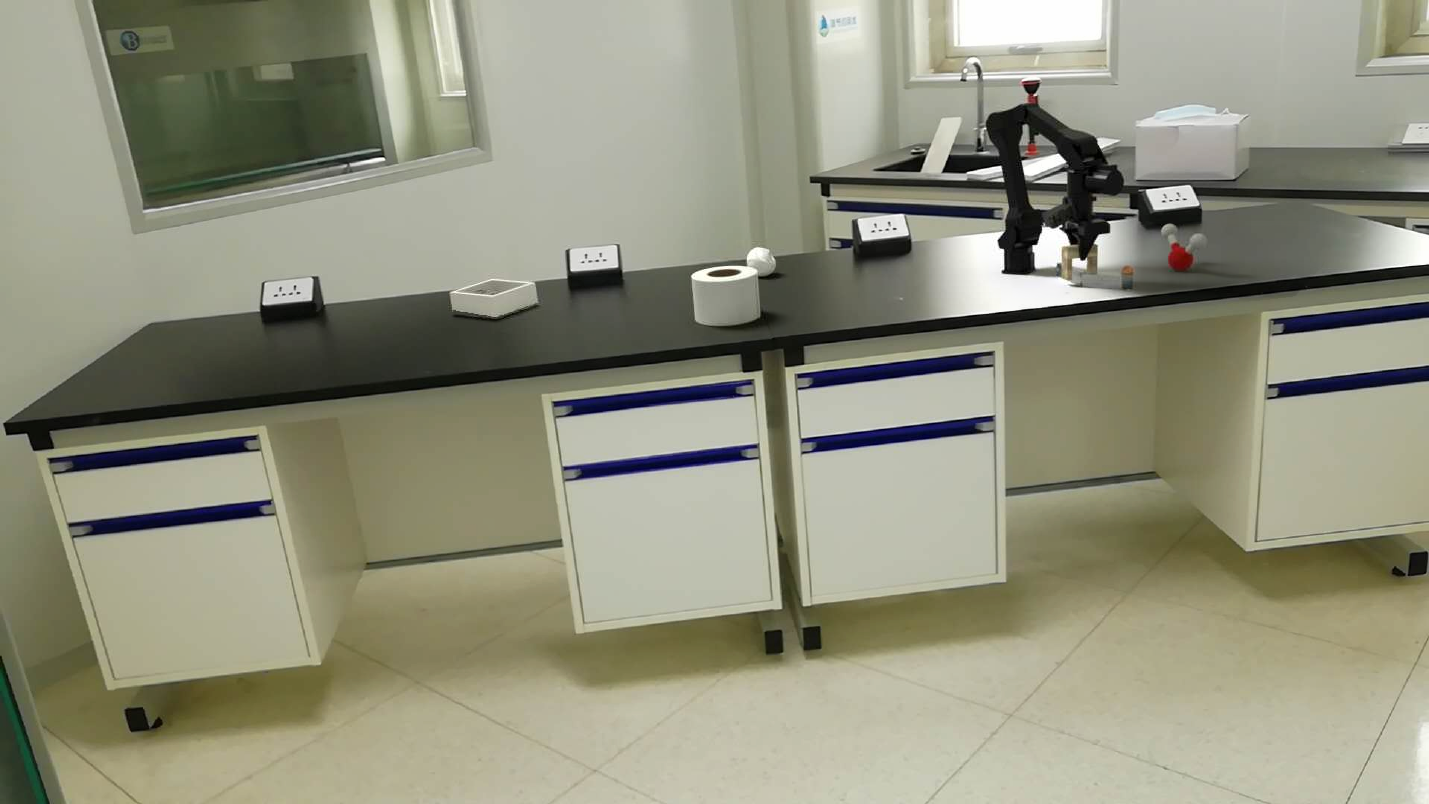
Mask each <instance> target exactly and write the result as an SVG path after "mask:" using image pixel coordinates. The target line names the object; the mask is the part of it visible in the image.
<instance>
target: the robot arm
mask: <svg viewBox="0 0 1429 804" xmlns="http://www.w3.org/2000/svg"><path fill="white" fill-rule="evenodd" d="M1025 125H1027V126H1028V127H1030V128H1031V129H1032V130H1034V131H1035V132H1037V133H1038V134H1039V135H1041V136H1042V137H1043V138H1045V139H1046V140H1047V141H1049V142H1051V143H1052V144H1053V145H1054V146H1055V147H1056V150H1057V154H1058V155H1059V156H1060V157H1061V158H1062V160H1064V161H1065V164H1064V165H1062V166H1061V167H1060V168H1059V171H1060V172H1061V173H1063V172H1064V173H1066V180H1067V181H1066V195H1064V196H1063V198H1062V204H1059V205H1056V206H1054V207H1052V208H1049V209H1048V210H1046V211H1044V212H1043V213H1042V212H1041V209H1039V208H1038V209H1035V208H1034V207H1033V206H1032V204H1031V203H1030V198H1029V193H1028V188H1027V182H1026V177H1025V171H1024V166H1023V160H1022V159H1023V158H1022V155H1021V149H1020V142H1021V140H1022V138H1023V135H1024V127H1023V126H1025ZM985 128H986V132H987V135H988V136H987V137H988V138H989V141H990V142H991V143H992V145H993V146H994V147H995V148H996V149H997V151H998V155H999V156H998V157H999V162H1000V167H1001V170H1002V172H1001V173H1002V177H1003V183H1004V187H1005V193H1006V198H1007V204H1008V211H1007V214H1006V216H1005V219H1004V226H1005V227H1004V228H1005V230H1004V232H1003V233H1001V235H1000V236H999V238H997V246H998V248H999V250H1003V267H1004V268H1003V269H1002V270H1001V273H1002V274H1012V275H1013V274H1015V275H1027V274H1029V273H1031V272H1033V271H1035V270H1036V266H1035V262H1036V261H1035V260H1036V259H1035V258H1036V256H1035V254H1036V253H1035V252H1034V251H1033V250H1034V249H1033V248H1034V247H1033V246H1038V244H1039V240H1040V236H1041V235H1042V233H1043V226H1044V224H1045V227H1047V228H1050V229H1052V230H1054V229H1057V228H1058V229H1059V230H1060V231H1061V232H1063V233H1064V234H1065V235H1066V236H1067V240H1068V242H1069V243H1068V244H1069V246H1070V245H1078V248H1079V256H1080V258H1079V260H1080V262H1084V261H1087V256H1088V254H1089V252H1090V250H1091V248H1092V246H1093V244H1095V243H1096V240H1097V238H1098V237H1099V236H1100V235H1107V234H1111V223H1109V221H1107V220H1104V219H1103V218H1102V219H1101V218H1097V214H1096V213H1094V202H1097V201H1098V199H1097V198H1098V197H1097V196H1096V195H1102V196H1109V197H1115V196H1117V195H1119V194H1120V193H1121V192H1122V190H1123V187H1124V185H1125V178H1124V176H1123V174H1122V172H1121V171H1120V170H1118V164H1115V163H1113V164H1109V162H1108V160H1107V158H1106V156H1105V155H1104V152H1103V150H1102V149H1101V147H1100V145H1099V143H1098V142H1099V141H1098V139H1097V137H1095V136H1094V135H1092V134H1090V133H1088V132H1085V131H1082V130H1077V129H1073V128H1070V127H1069V126H1067V125H1066V124H1065V123H1063V122H1062V121H1060V120H1059V119H1057V118H1056V117H1054V116H1053V115H1051V113H1048V112H1047V111H1046V110H1044V109H1043V108H1041V106H1040V105H1039V104H1038V103H1037V102H1035V101H1032V102H1024V103H1019V104H1018V105H1016V106H1014V107H1012V108H1009V109H1007V110H1000V111H993V112H991V113H990V114H988V117H987V119H986V120H985ZM1042 219H1043V221H1042ZM1060 226H1061V227H1060Z"/></svg>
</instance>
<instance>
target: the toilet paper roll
mask: <svg viewBox="0 0 1429 804" xmlns="http://www.w3.org/2000/svg"><path fill="white" fill-rule="evenodd" d="M690 277H691V288H692V298H693V300H692V301H693V308H694V310H693V311H694V320H695V322H696V323H697V324H699V325H704V326H711V327H729V326H738V325H743V324H747V323H751V322H753V321H755V320H757V319H760V317H761V303H760V290H759V289H760V288H759V287H760V286H759V276H758V272H757V270H756V269H754V268H751V267H748V266H745V265H744V266H743V265H726V266H725V265H724V266H715V267H710V268H705V269H701V270H698V271H696V272H694V273H693V274H691V276H690Z"/></svg>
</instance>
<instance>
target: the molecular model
mask: <svg viewBox="0 0 1429 804" xmlns="http://www.w3.org/2000/svg"><path fill="white" fill-rule="evenodd" d="M1178 230H1179V229H1178V228H1177V226H1176V225H1175V224H1173V223H1167V224H1165V225H1164V226H1162V228H1161V233H1160V234H1161V236H1162V237H1163V239H1166V240H1168V243H1169V245H1170V247H1171V251H1170V252H1169V253H1168V256H1167V262H1168V265H1169V267H1170V268H1171V269H1173V270H1174V271H1178V272H1183V271H1186V270H1187V269H1189V268H1190V267H1191V266H1192V264H1193V262H1194V254H1193V253H1194V252H1195V251H1197V250H1198V251H1199V250H1201V249H1203V248H1205V247H1206V246H1207V244H1208V239H1207V237H1206V236H1205V234H1203V233H1201V232H1200V233H1195V234H1193V235H1192V236H1191V237H1190V238H1189V239H1190V240H1189V244H1188V246H1187V247H1185V246H1180V243H1179V240H1178V238H1177V235H1178Z"/></svg>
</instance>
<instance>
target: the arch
mask: <svg viewBox="0 0 1429 804" xmlns="http://www.w3.org/2000/svg"><path fill="white" fill-rule="evenodd" d="M1098 246H1099V245H1098V244H1096V243H1094V244H1093V246H1092V248H1091V250H1090V252H1089V254H1088V256H1087V258H1086V273H1098V265H1099V264H1098V262H1099V260H1098V256H1099V255H1098V254H1099V252H1098ZM1074 259H1080V256H1079V248H1078V245H1070V244H1069V245H1063V246H1061V263H1062V277H1061V279H1062V280H1065V281H1067V282H1069V281H1068V280H1072V266H1073V260H1074Z"/></svg>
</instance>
